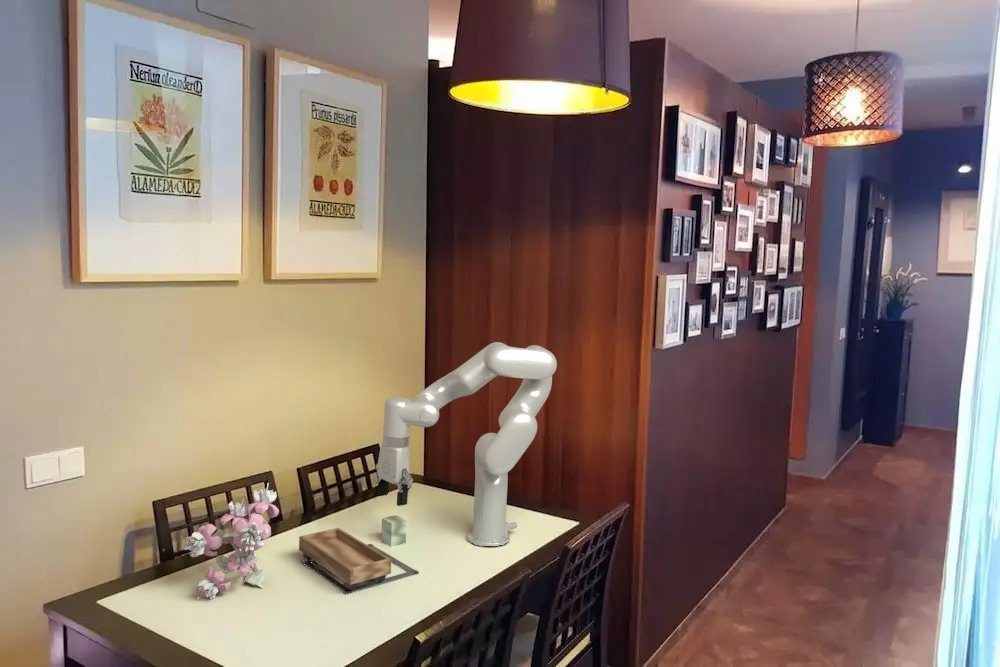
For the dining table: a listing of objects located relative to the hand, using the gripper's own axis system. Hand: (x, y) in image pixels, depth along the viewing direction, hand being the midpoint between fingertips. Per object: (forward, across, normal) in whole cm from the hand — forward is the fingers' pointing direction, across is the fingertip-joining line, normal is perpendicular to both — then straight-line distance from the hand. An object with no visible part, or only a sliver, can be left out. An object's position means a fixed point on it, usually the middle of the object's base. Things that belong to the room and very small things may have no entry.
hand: (392, 500), depth 221 cm
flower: (+14, +5, -48) cm, 50 cm away
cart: (+13, +11, -21) cm, 27 cm away
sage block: (+13, +1, +1) cm, 13 cm away
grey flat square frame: (+13, +11, -16) cm, 23 cm away
